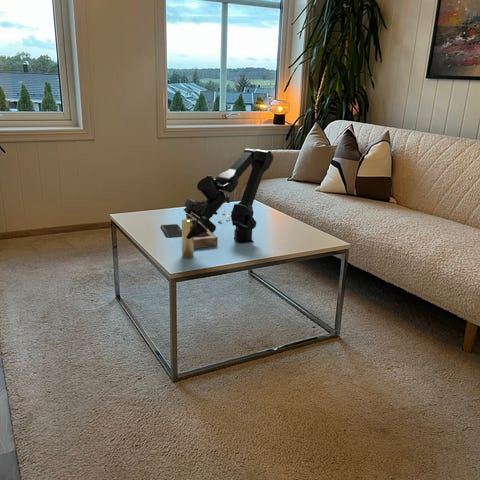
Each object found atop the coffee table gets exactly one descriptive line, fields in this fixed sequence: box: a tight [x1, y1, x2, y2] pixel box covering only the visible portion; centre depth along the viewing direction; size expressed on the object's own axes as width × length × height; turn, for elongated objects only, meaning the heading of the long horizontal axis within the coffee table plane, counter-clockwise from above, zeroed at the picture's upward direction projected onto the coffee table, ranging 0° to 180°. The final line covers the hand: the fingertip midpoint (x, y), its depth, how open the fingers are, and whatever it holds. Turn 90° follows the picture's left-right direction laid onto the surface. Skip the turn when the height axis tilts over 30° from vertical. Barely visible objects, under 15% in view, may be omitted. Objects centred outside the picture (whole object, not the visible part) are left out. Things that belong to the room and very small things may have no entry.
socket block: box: [194, 229, 218, 249], centre depth 191 cm, size 11×11×4 cm
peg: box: [181, 218, 195, 259], centre depth 175 cm, size 4×4×14 cm
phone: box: [160, 223, 182, 238], centre depth 204 cm, size 8×1×15 cm
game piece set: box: [217, 208, 231, 223], centre depth 225 cm, size 19×20×4 cm
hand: (184, 236), depth 174 cm, fingers open, 5 cm apart
